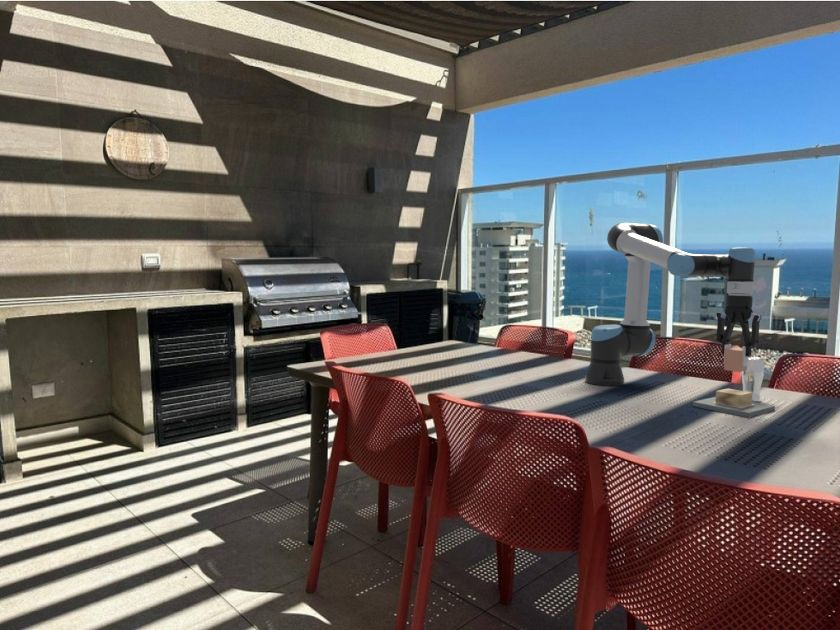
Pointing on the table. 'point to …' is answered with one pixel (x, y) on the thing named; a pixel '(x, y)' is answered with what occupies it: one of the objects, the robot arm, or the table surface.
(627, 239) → the robot arm
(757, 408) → the build board
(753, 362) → the beer glass
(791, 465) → the table surface
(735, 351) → the terracotta block
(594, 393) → the table surface
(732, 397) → the oak base block
